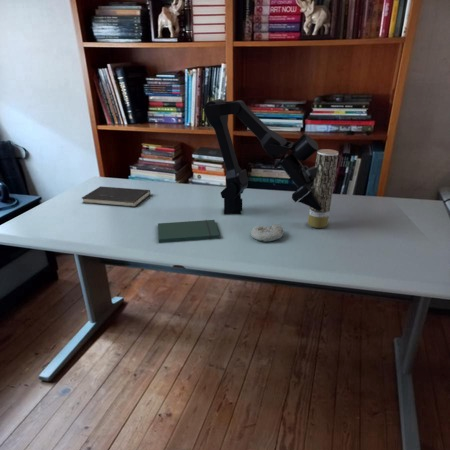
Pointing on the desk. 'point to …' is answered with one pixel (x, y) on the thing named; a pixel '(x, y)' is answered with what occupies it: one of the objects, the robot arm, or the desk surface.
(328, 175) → the paper tube
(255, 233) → the fossil
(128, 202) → the hardcover book
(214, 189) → the desk surface
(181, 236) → the notebook
